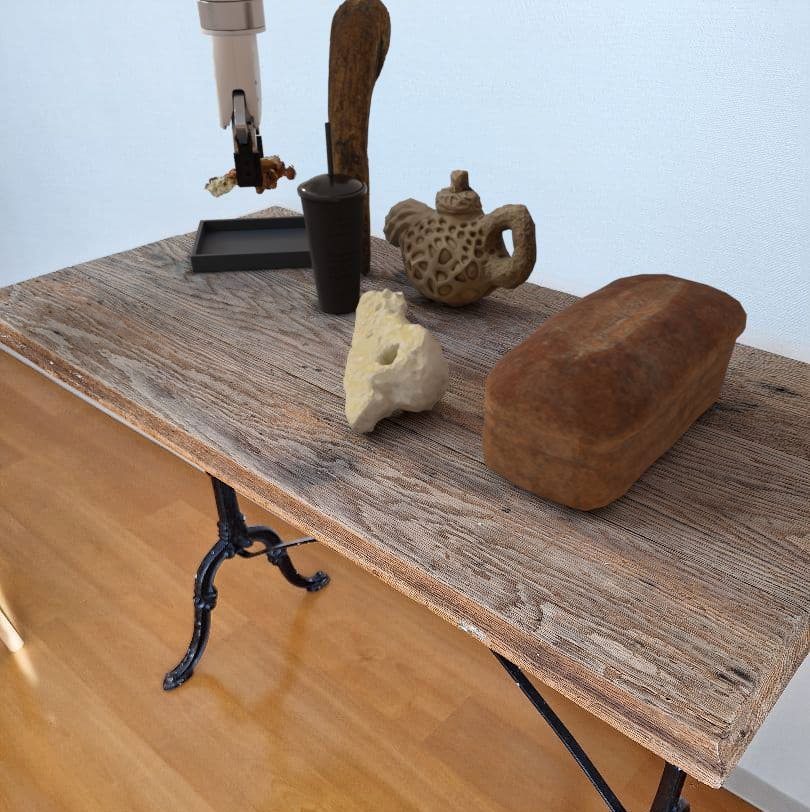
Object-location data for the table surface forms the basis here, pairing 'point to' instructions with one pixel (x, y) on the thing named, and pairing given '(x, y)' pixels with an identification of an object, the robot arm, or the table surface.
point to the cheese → (390, 363)
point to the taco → (270, 174)
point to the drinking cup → (334, 234)
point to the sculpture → (356, 91)
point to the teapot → (461, 244)
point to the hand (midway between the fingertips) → (251, 176)
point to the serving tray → (251, 244)
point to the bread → (608, 387)
